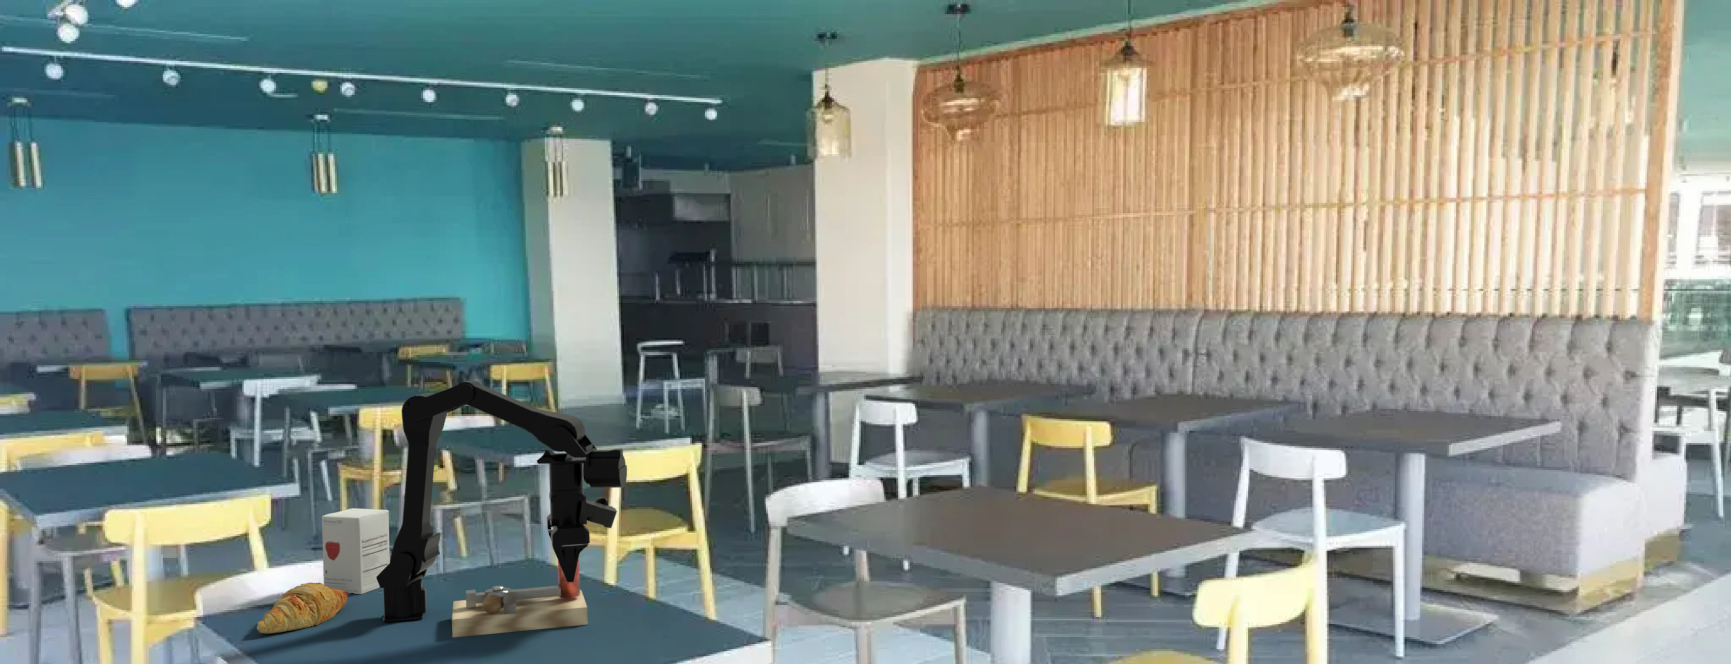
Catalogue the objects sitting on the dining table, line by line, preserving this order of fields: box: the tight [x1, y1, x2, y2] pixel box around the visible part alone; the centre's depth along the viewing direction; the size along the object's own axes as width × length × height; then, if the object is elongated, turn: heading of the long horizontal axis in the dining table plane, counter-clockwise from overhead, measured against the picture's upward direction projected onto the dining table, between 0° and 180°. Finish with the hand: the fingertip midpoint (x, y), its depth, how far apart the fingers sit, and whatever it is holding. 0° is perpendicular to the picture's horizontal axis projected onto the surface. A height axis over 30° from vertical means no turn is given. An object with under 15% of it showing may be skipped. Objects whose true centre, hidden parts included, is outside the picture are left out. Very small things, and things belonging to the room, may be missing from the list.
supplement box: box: [321, 507, 391, 595], centre depth 240 cm, size 9×9×15 cm
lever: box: [465, 557, 581, 608], centre depth 214 cm, size 19×4×7 cm, turn 108°
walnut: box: [483, 594, 502, 614], centre depth 207 cm, size 3×3×3 cm
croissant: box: [256, 582, 349, 634], centre depth 216 cm, size 21×10×8 cm, turn 165°
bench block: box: [451, 589, 589, 638], centre depth 213 cm, size 22×13×6 cm, turn 108°
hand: (568, 576), depth 216 cm, fingers open, 9 cm apart
